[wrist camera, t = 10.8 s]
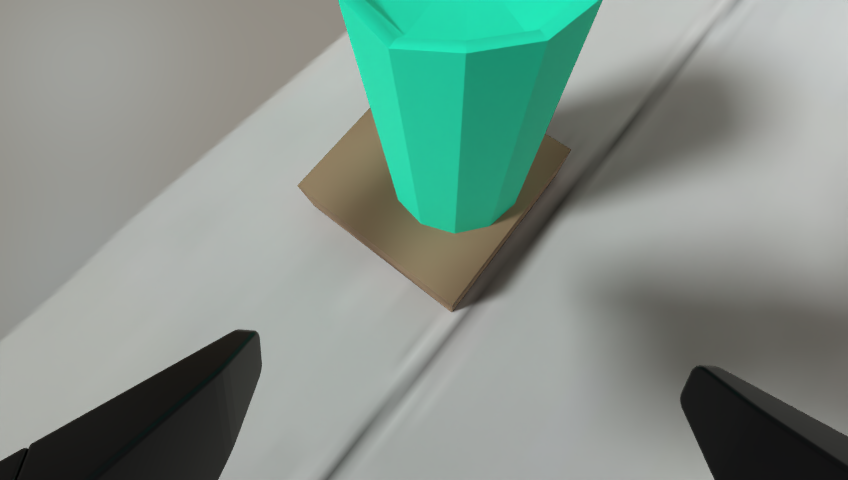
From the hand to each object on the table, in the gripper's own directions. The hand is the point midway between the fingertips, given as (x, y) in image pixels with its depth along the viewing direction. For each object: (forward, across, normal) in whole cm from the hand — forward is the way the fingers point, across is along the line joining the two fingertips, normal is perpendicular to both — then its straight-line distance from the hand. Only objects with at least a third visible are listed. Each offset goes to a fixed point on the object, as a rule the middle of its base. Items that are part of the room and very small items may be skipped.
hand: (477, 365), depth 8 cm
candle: (+12, 0, -1) cm, 12 cm away
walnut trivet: (+13, 0, 0) cm, 13 cm away
